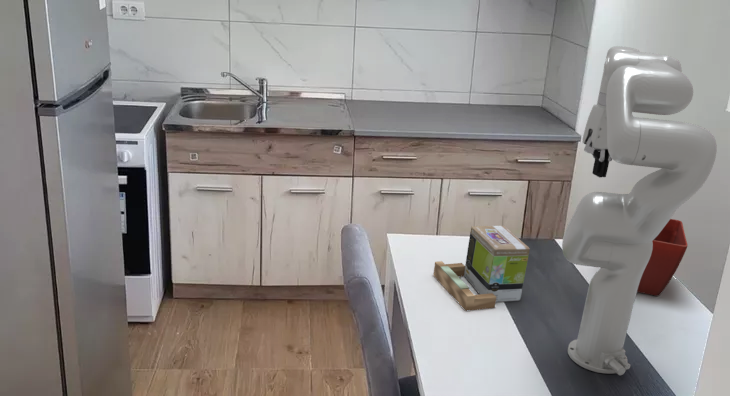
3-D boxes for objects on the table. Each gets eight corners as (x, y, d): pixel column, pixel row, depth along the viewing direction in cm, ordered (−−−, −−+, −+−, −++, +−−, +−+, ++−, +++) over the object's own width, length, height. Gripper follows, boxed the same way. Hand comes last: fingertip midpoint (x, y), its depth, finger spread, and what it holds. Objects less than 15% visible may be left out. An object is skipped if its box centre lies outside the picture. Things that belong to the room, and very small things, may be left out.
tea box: (521, 301, 176) (531, 248, 171) (485, 303, 174) (493, 249, 168) (496, 274, 190) (505, 223, 185) (462, 275, 187) (469, 224, 182)
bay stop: (494, 307, 172) (497, 292, 170) (465, 311, 169) (467, 295, 168) (460, 272, 188) (462, 258, 187) (433, 275, 186) (435, 260, 184)
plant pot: (595, 289, 186) (608, 231, 180) (597, 261, 203) (609, 207, 197) (672, 305, 181) (688, 246, 175) (667, 275, 198) (682, 220, 192)
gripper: (630, 97, 169) (614, 169, 175) (578, 97, 164) (563, 171, 170) (651, 105, 162) (634, 179, 169) (597, 105, 157) (582, 181, 164)
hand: (598, 175), depth 169 cm, fingers closed
